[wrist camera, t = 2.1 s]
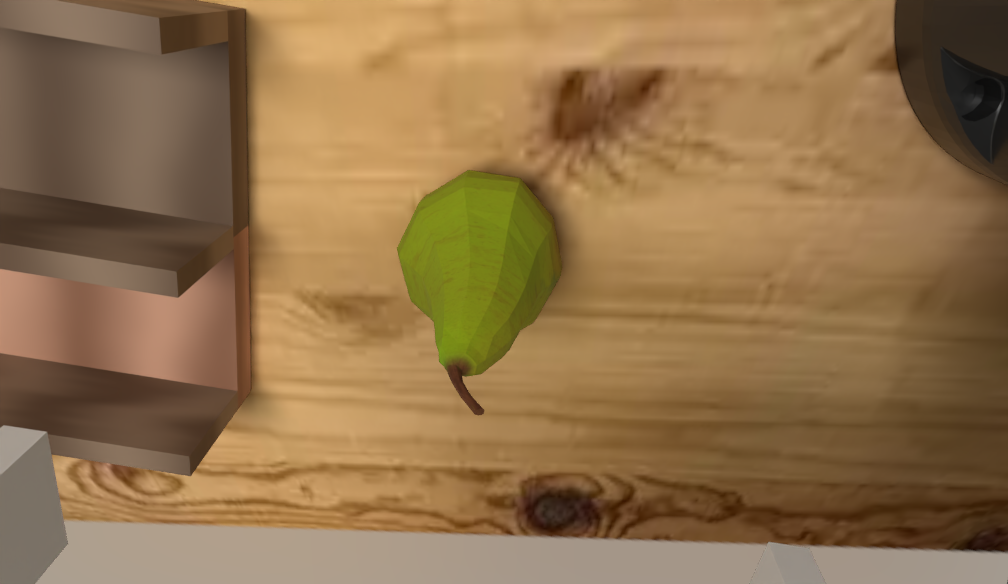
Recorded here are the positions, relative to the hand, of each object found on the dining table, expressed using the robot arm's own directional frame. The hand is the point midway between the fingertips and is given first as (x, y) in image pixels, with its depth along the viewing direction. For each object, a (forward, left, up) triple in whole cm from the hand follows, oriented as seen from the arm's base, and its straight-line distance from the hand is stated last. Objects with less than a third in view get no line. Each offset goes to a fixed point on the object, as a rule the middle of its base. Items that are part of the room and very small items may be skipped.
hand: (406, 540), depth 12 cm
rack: (+16, +2, -17) cm, 23 cm away
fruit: (0, 0, -17) cm, 17 cm away
